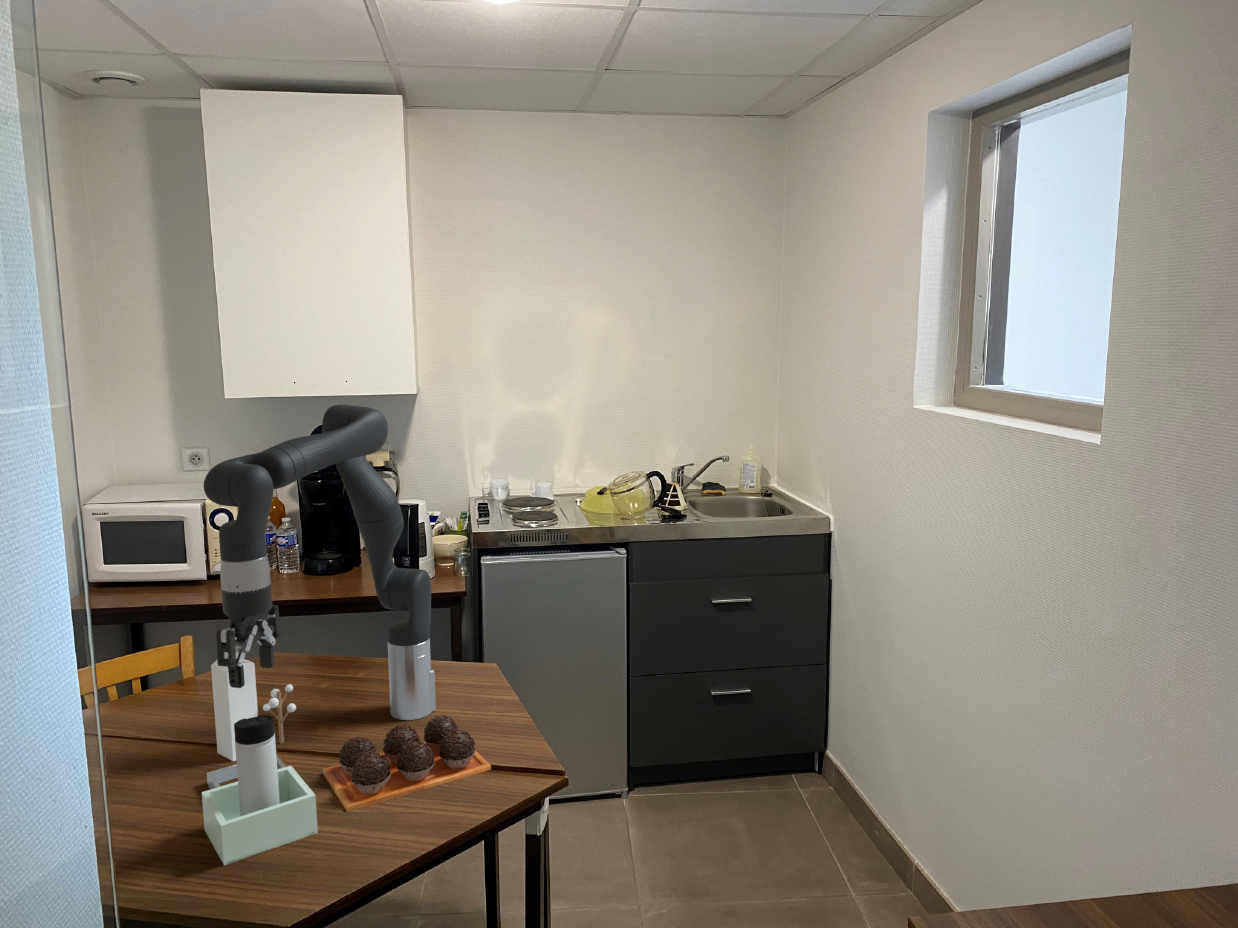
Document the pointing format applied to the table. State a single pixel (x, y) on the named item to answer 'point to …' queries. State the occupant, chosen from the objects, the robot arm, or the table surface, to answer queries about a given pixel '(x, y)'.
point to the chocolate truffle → (403, 763)
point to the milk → (232, 704)
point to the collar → (229, 774)
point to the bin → (259, 818)
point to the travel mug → (256, 763)
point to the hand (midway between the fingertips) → (252, 676)
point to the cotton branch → (279, 708)
